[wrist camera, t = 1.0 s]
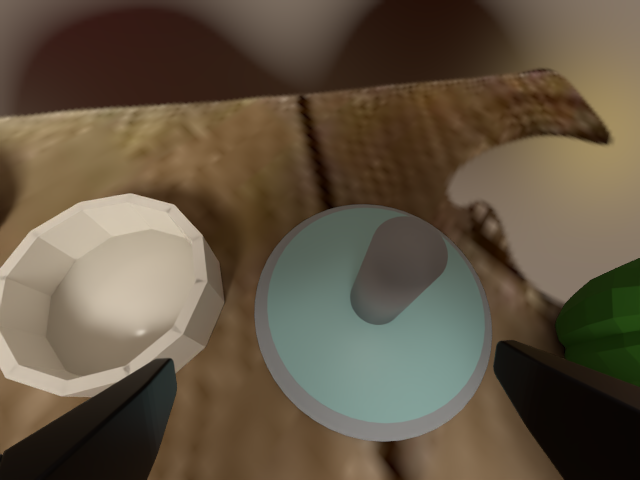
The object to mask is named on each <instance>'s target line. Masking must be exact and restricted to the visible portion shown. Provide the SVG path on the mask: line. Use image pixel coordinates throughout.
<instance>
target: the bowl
mask: <svg viewBox="0 0 640 480" xmlns="http://www.w3.org/2000/svg"><path fill="white" fill-rule="evenodd" d="M224 303H225V302H224V294H223V286H222V279H221V271H220V263H219V261H218V260H217V258H216V256H215V255H214V253H213V251H212V250H211V248H210V247H209V245H208V243H207V242H206V240H205V239H204V237H203V235H202V234H201V233H200V232H199V231H198V230H197V229H196V228H195V227H194V226H193V224H192V223H191V222H190V221H189V220H188V219H187V218H186V217H185V216H184V215H183V214H182V213H181V211H180V210H179V209H178V208H177V207H176V206H175V205H174V204H170V203H166V202H162V201H158V200H155V199H151V198H147V197H143V196H139V195H135V194H132V193H129V194H123V195H118V196H112V197H107V198H101V199H95V200H90V201H84V202H79V203H78V204H76V205H74V206H72V207H71V208H69V209H67V210H66V211H64V212H62V213H61V214H59V215H57V216H55V217H54V218H52V219H50V220H49V221H47V222H45V223H43V224H42V225H40V226H38V227H37V228H35V229H33V230H32V231H30V232H29V233H28V235H27V236H26V237H25V238H24V240H23V241H22V242H21V243H20V245H19V246H18V247H17V248H16V250H15V251H14V252H13V253H12V255H11V256H10V257H9V258H8V260H7V261H6V262H5V263H4V265H3V266H2V267H1V268H0V368H1V370H2V372H3V374H4V376H5V378H8V379H11V380H14V381H17V382H20V383H23V384H26V385H29V386H32V387H35V388H38V389H41V390H44V391H47V392H50V393H53V394H56V395H59V396H69V397H94V396H95V395H97V394H98V393H100V392H102V391H103V390H105V389H107V388H108V387H110V386H112V385H113V384H115V383H116V382H118V381H120V380H121V379H123V378H125V377H126V376H128V375H130V374H131V373H133V372H134V371H136V370H138V369H139V368H141V367H143V366H144V365H146V364H148V363H149V362H151V361H152V360H154V359H157V358H171V359H173V361H174V366H175V373H177V372H178V371H179V370H180V369H181V368H182V367H183V366H185V365H186V364H187V363H188V362H189V361H190V360H191V359H193V358H194V357H195V356H196V355H197V354H198V353H199V352H201V351H202V350H203V349H204V348H205V347H206V345H207V343H208V340H209V338H210V336H211V333H212V331H213V329H214V326H215V324H216V322H217V319H218V317H219V314H220V312H221V310H222V307H223V305H224Z"/></svg>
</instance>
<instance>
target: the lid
mask: <svg viewBox="0 0 640 480" xmlns="http://www.w3.org/2000/svg"><path fill="white" fill-rule="evenodd" d="M267 313H268V321H269V327H270V331H271V335H272V339H273V342H274V344H275V347H276V349H277V352H278V354H279V356H280V358H281V360H282V361H283V363H284V365H285V367H286V368H287V370H288V371H289V373H290V374H291V375H292V377H293V378H294V379H295V381H296V382H297V383H298V384H299V385H300V386H301V387H302V388H303V389H304V390H305V391H306V392H307V393H308V394H309V395H310V396H312V397H313V398H314V399H316V400H317V401H318V402H320V403H321V404H323V405H324V406H326V407H328V408H330V409H332V410H333V411H335V412H338V413H340V414H343V415H345V416H348V417H351V418H354V419H358V420H363V421H367V422H376V423H397V422H405V421H409V420H413V419H418V418H420V417H423V416H425V415H427V414H430V413H432V412H434V411H436V410H437V409H439V408H441V407H442V406H444V405H445V404H447V403H448V402H449V401H450V400H451V399H453V398H454V397H455V396H456V395H457V394H458V393H459V392H460V391H461V389H462V388H463V387H464V386H465V385H466V383H467V382H468V380H469V379H470V377H471V375H472V374H473V372H474V370H475V368H476V365H477V363H478V361H479V358H480V355H481V351H482V347H483V343H484V332H485V318H484V309H483V303H482V299H481V295H480V292H479V289H478V286H477V284H476V281H475V279H474V277H473V274H472V273H471V271H470V269H469V268H468V266H467V264H466V262H465V261H464V260H463V258H462V257H461V256H460V254H459V253H458V252H457V251H456V250H455V248H454V247H453V246H452V245H451V244H450V243H449V242H448V241H447V240H446V239H445V238H443V237H442V236H441V235H440V234H439V232H438V231H437V230H436V229H435V228H434V227H432V226H431V225H430V224H428V223H427V222H425V221H423V220H420V219H417V218H414V217H409V216H407V215H404V214H401V213H398V212H395V211H390V210H385V209H378V208H354V209H347V210H342V211H338V212H335V213H332V214H329V215H327V216H324V217H322V218H320V219H318V220H316V221H315V222H313V223H311V224H310V225H308V226H307V227H306V228H304V229H303V230H302V231H300V232H299V233H298V234H297V235H296V236H295V237H294V238H293V239H292V240H291V242H290V243H289V244H288V245H287V246H286V248H285V249H284V251H283V252H282V254H281V256H280V257H279V259H278V261H277V263H276V266H275V268H274V270H273V273H272V277H271V280H270V284H269V291H268V299H267Z"/></svg>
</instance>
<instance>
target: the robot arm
mask: <svg viewBox="0 0 640 480" xmlns="http://www.w3.org/2000/svg"><path fill="white" fill-rule="evenodd" d="M493 367H494V373H495V375H496V377H497V379H498V380H499V382H500V384H501V385H502V387H503V389H504V390H505V392H506V394H507V395H508V397H509V399H510V400H511V402H512V404H513V406H514V407H515V409H516V411H517V412H518V414H519V416H520V417H521V419H522V420H523V422H524V424H525V425H526V427H527V428H528V430H529V431H530V433H531V434H532V436H533V437H534V438H535V440H536V441H537V442H538V444H539V445H540V447H541V448H542V449H543V451H544V452H545V454H546V455H547V456H548V458H549V459H550V461H551V462H552V463H553V465H554V466H555V468H556V469H557V470H558V472H559V473H560V475H561V476H562V477H563V479H564V480H640V387H638V386H636V385H633V384H630V383H627V382H625V381H622V380H619V379H617V378H614V377H611V376H609V375H606V374H603V373H601V372H598V371H595V370H592V369H590V368H587V367H584V366H582V365H579V364H576V363H574V362H571V361H568V360H566V359H563V358H560V357H558V356H555V355H552V354H549V353H547V352H544V351H541V350H539V349H536V348H533V347H531V346H528V345H525V344H523V343H520V342H517V341H514V340H505V341H499V342H498V343H497V346H496V352H495V358H494V365H493ZM176 391H177V382H176V374H175V366H174V361H173V359H171V358H157V359H154V360H152V361H151V362H149V363H148V364H146V365H144V366H143V367H141V368H139V369H138V370H136V371H134V372H133V373H131V374H130V375H128V376H126V377H125V378H123V379H121V380H120V381H118V382H116V383H115V384H113V385H112V386H110V387H108V388H107V389H105V390H103V391H102V392H100V393H98V394H97V395H95V396H94V397H92V398H90V399H89V400H87V401H85V402H84V403H82V404H80V405H79V406H77V407H76V408H74V409H72V410H71V411H69V412H67V413H66V414H64V415H63V416H61V417H59V418H58V419H56V420H54V421H53V422H51V423H49V424H48V425H46V426H45V427H43V428H41V429H40V430H38V431H36V432H35V433H33V434H31V435H30V436H28V437H27V438H25V439H23V440H22V441H20V442H18V443H17V444H15V445H13V446H12V447H10V448H9V449H7V450H5V451H4V453H3V455H2V454H0V480H147V478H148V476H149V473H150V471H151V469H152V466H153V464H154V461H155V459H156V456H157V454H158V451H159V448H160V445H161V441H162V438H163V435H164V432H165V428H166V425H167V422H168V419H169V415H170V412H171V409H172V405H173V402H174V399H175V396H176Z"/></svg>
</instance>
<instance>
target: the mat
mask: <svg viewBox="0 0 640 480" xmlns="http://www.w3.org/2000/svg"><path fill="white" fill-rule="evenodd" d="M354 208H378V209H385V210H390V211H395V212H398V213H401V214H404V215H407V216H409V217H414V218H417V219H420V218H418V217H416V216H414V215H412V214H409V213H407V212H404V211H401V210H398V209H394V208H391V207H385V206H380V205H369V204H357V205H347V206H340V207H336V208H332V209H328V210H326V211H323V212H321V213H318V214H316V215H314V216H312V217H310V218H308V219H306V220H304V221H303V222H302V223H300V224H299V225H297V226H296V227H295V228H293V229H292V230H291V231H290V232H289V233H288V234H287V235H286V236H285V237H284V238H283V239H282V240H281V241H280V242H279V244H278V245H277V246H276V247H275V249H274V250H273V252H272V253H271V255H270V256H269V258H268V260H267V262H266V264H265V266H264V268H263V271H262V273H261V276H260V279H259V283H258V286H257V292H256V298H255V315H254V317H255V327H256V334H257V339H258V343H259V347H260V350H261V353H262V355H263V358H264V361H265V363H266V365H267V367H268V369H269V371H270V373H271V375H272V376H273V378H274V380H275V381H276V383H277V384H278V386H279V387H280V388H281V390H282V391H283V392H284V394H285V395H286V396H287V397H288V398H289V399H290V400H291V401H292V402H293V403H294V404H295V405H296V406H297V407H298V408H299V409H300V410H301V411H303V412H304V413H305V414H307V415H308V416H309V417H310V418H312V419H313V420H315V421H316V422H318V423H320V424H322V425H323V426H325V427H327V428H329V429H331V430H333V431H336V432H338V433H341V434H343V435H346V436H350V437H354V438H358V439H362V440H370V441H383V442H384V441H397V440H404V439H409V438H413V437H417V436H420V435H423V434H425V433H427V432H430V431H432V430H434V429H436V428H438V427H440V426H441V425H443V424H444V423H446V422H447V421H449V420H450V419H452V418H453V417H454V416H455V415H456V414H457V413H458V412H459V411H461V410H462V409H463V408H464V406H465V405H466V404H467V403H468V401H469V400H470V399H471V398H472V397H473V395H474V393H475V392H476V390H477V388H478V386H479V385H480V383H481V381H482V379H483V376H484V373H485V371H486V368H487V365H488V361H489V357H490V352H491V342H492V323H491V315H490V309H489V304H488V301H487V298H486V294H485V291H484V288H483V286H482V284H481V282H480V279H479V277H478V275H477V274H476V272H475V270H474V268H473V267H472V265H471V263H470V262H469V261H468V259H467V258H466V257H465V255H464V254H463V253H462V251H461V250H460V249H459V248H458V247H457V246H456V245H455V244H454V243H453V242H452V241H451V240H450V239H449V238H448V237H447V236H445V235H444V234H443V233H442V232H441V231H439V230H438V229H437V228H435V227H434V226H432V225H431V224H430V225H431V226H432V227H434V228H435V229H436V230H437V231H438V232H439V234H440V235H441V236H442V237H443V238H445V239H446V240H447V241H448V242H449V243H450V244H451V245H452V246H453V247H454V248H455V250H456V251H457V252H458V253H459V254H460V256H461V257H462V258H463V260H464V261H465V262H466V264H467V266H468V268H469V269H470V271H471V273H472V274H473V277H474V279H475V281H476V284H477V286H478V289H479V292H480V295H481V299H482V303H483V309H484V318H485V332H484V343H483V347H482V351H481V355H480V358H479V361H478V363H477V365H476V368H475V370H474V372H473V374H472V375H471V377H470V379H469V380H468V382H467V383H466V385H465V386H464V387H463V388H462V389H461V391H460V392H459V393H458V394H457V395H456V396H455V397H454V398H453V399H451V400H450V401H449V402H448V403H447V404H445V405H444V406H442V407H441V408H439V409H437V410H436V411H434V412H432V413H430V414H427V415H425V416H423V417H420V418H418V419H413V420H409V421H405V422H397V423H376V422H367V421H363V420H358V419H354V418H351V417H348V416H345V415H343V414H340V413H338V412H335V411H333V410H332V409H330V408H328V407H326V406H324V405H323V404H321V403H320V402H318V401H317V400H316V399H314V398H313V397H312V396H310V395H309V394H308V393H307V392H306V391H305V390H304V389H303V388H302V387H301V386H300V385H299V384H298V383H297V382H296V381H295V379H294V378H293V377H292V375H291V374H290V373H289V371H288V370H287V368H286V367H285V365H284V363H283V361H282V360H281V358H280V356H279V354H278V352H277V349H276V347H275V344H274V342H273V339H272V335H271V331H270V327H269V321H268V313H267V299H268V291H269V284H270V280H271V277H272V273H273V270H274V268H275V266H276V263H277V261H278V259H279V257H280V256H281V254H282V252H283V251H284V249H285V248H286V246H287V245H288V244H289V243H290V242H291V240H292V239H293V238H294V237H295V236H296V235H297V234H298V233H299V232H300V231H302V230H303V229H304V228H306V227H307V226H308V225H310V224H311V223H313V222H315V221H316V220H318V219H320V218H322V217H324V216H327V215H329V214H332V213H335V212H338V211H342V210H347V209H354ZM420 220H422V219H420ZM423 221H424V220H423ZM425 222H426V221H425ZM428 224H429V223H428Z"/></svg>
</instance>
